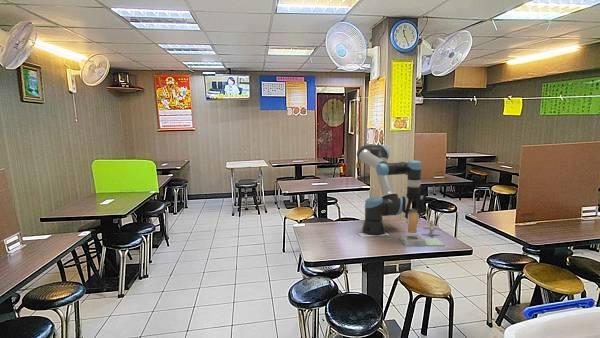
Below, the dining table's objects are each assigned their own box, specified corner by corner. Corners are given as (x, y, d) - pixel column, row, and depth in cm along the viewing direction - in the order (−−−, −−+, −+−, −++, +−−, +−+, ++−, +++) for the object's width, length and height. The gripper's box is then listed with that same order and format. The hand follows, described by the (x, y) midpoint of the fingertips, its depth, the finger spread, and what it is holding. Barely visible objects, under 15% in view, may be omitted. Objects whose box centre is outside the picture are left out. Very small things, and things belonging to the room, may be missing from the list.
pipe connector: (440, 238, 200) (441, 223, 199) (424, 237, 202) (424, 222, 201) (437, 233, 210) (438, 218, 208) (421, 232, 212) (422, 217, 210)
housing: (399, 239, 200) (399, 234, 199) (418, 238, 199) (418, 234, 199) (405, 246, 188) (405, 241, 187) (425, 245, 187) (425, 241, 187)
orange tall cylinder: (406, 230, 195) (407, 208, 194) (414, 230, 195) (415, 208, 193) (409, 233, 190) (410, 210, 189) (417, 233, 190) (418, 210, 188)
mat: (421, 239, 198) (421, 238, 198) (437, 239, 197) (437, 238, 197) (427, 246, 187) (427, 245, 187) (444, 246, 186) (444, 244, 186)
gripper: (400, 187, 185) (399, 225, 189) (431, 187, 185) (429, 225, 188) (397, 185, 193) (396, 221, 196) (426, 184, 192) (425, 221, 196)
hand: (412, 223), depth 192 cm, fingers closed on orange tall cylinder, 5 cm apart
